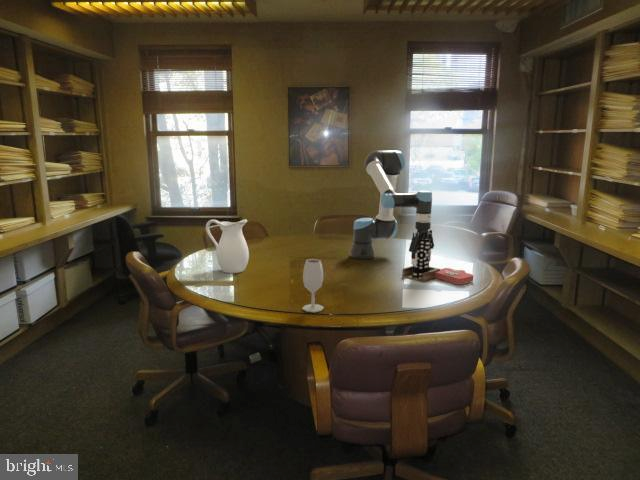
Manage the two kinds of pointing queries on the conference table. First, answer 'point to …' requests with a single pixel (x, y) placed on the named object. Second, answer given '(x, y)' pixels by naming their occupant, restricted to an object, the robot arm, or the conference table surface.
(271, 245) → the conference table surface
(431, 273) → the walnut tray
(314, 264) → the wineglass
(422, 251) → the spotted tube
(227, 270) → the pitcher
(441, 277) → the plaque
